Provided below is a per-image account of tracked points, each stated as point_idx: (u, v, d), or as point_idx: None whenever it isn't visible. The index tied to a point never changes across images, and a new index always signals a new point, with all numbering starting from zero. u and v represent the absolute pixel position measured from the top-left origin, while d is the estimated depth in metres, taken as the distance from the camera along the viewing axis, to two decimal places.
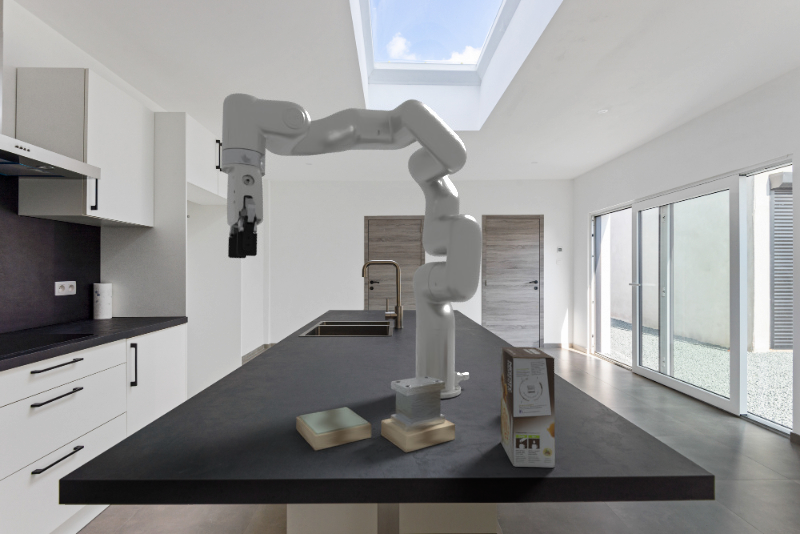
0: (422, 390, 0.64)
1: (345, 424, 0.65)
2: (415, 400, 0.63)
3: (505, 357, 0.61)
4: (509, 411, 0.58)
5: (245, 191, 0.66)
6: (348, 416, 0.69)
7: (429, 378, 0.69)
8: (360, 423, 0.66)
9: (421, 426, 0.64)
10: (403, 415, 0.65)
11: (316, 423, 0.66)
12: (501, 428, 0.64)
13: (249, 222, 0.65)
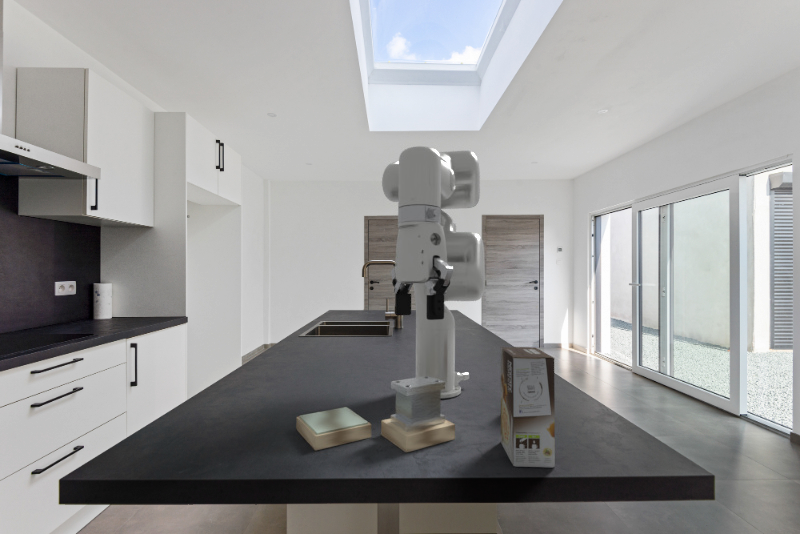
0: (422, 390, 0.64)
1: (345, 424, 0.65)
2: (415, 400, 0.63)
3: (505, 357, 0.61)
4: (509, 411, 0.58)
5: (434, 251, 0.63)
6: (348, 416, 0.69)
7: (429, 378, 0.69)
8: (360, 423, 0.66)
9: (421, 426, 0.64)
10: (403, 415, 0.65)
11: (316, 423, 0.66)
12: (501, 428, 0.64)
13: (443, 285, 0.61)
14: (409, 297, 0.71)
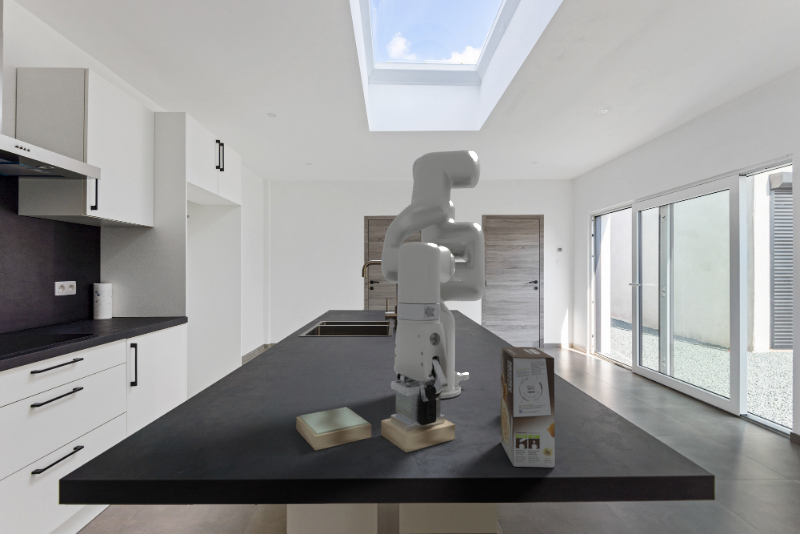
0: None
1: (345, 424, 0.65)
2: (415, 400, 0.63)
3: (505, 357, 0.61)
4: (509, 411, 0.58)
5: (433, 352, 0.62)
6: (348, 416, 0.69)
7: (429, 378, 0.69)
8: (360, 423, 0.66)
9: (421, 426, 0.64)
10: (403, 415, 0.65)
11: (316, 423, 0.66)
12: (501, 428, 0.64)
13: None
14: None
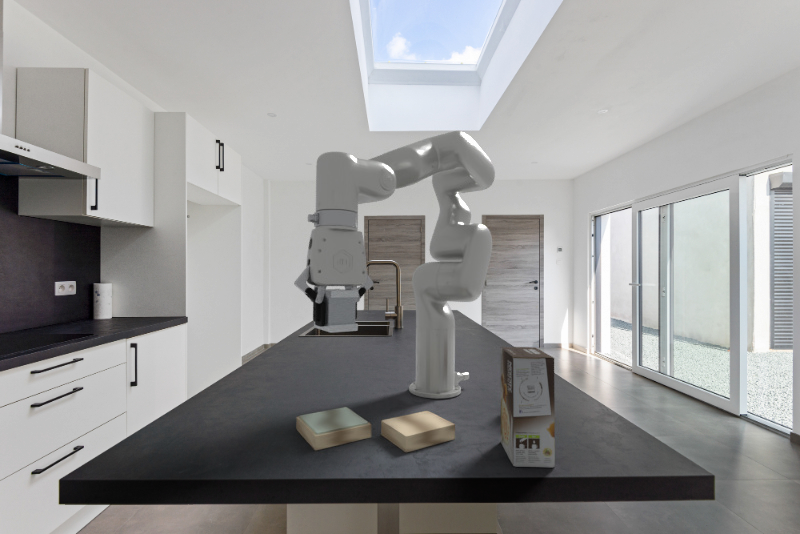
0: None
1: (345, 424, 0.65)
2: None
3: (505, 357, 0.61)
4: (509, 411, 0.58)
5: (308, 256, 0.66)
6: (348, 416, 0.69)
7: None
8: (360, 423, 0.66)
9: (319, 327, 0.68)
10: None
11: (316, 423, 0.66)
12: (501, 428, 0.64)
13: None
14: None
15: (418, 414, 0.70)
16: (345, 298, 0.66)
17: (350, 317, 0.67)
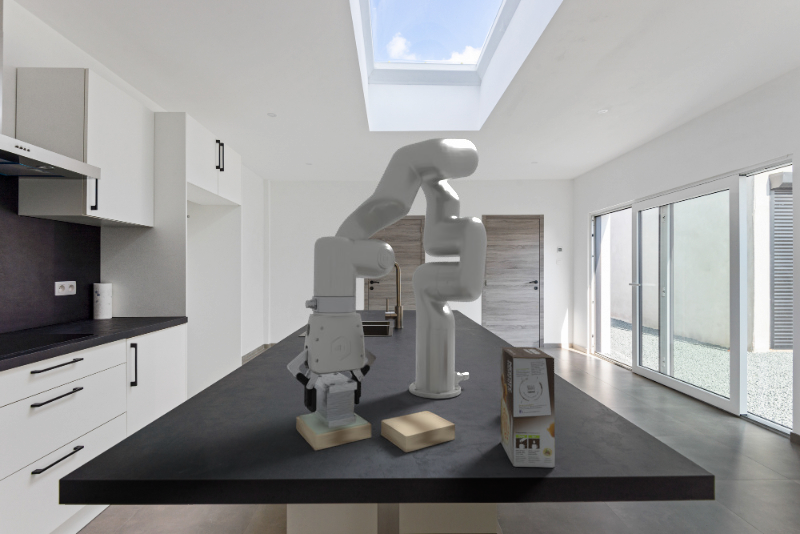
0: (319, 384, 0.67)
1: None
2: None
3: (505, 357, 0.61)
4: (509, 411, 0.58)
5: (306, 342, 0.66)
6: None
7: (344, 382, 0.66)
8: (360, 423, 0.66)
9: (318, 417, 0.67)
10: None
11: (316, 423, 0.66)
12: (501, 428, 0.64)
13: None
14: None
15: (418, 414, 0.70)
16: (344, 390, 0.66)
17: (349, 409, 0.66)
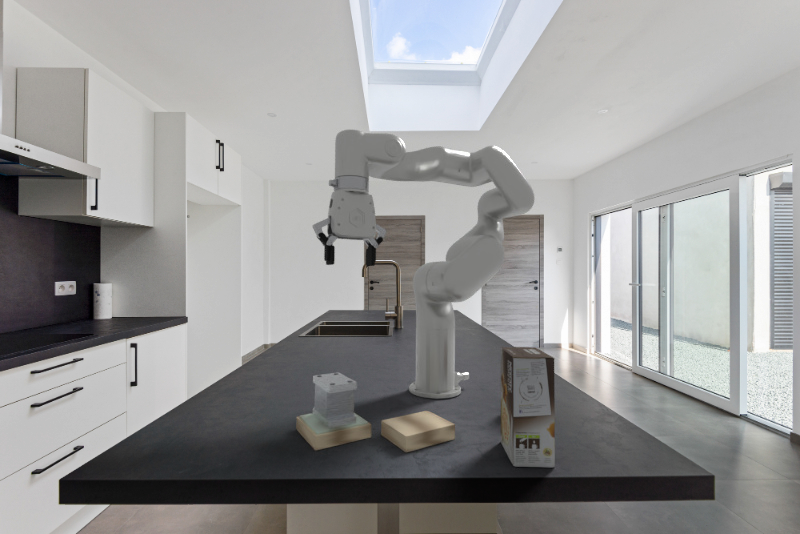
0: (319, 384, 0.67)
1: None
2: (316, 389, 0.69)
3: (505, 357, 0.61)
4: (509, 411, 0.58)
5: (329, 213, 0.82)
6: None
7: (344, 382, 0.66)
8: (360, 423, 0.66)
9: (318, 417, 0.67)
10: None
11: (316, 423, 0.66)
12: (501, 428, 0.64)
13: (320, 238, 0.81)
14: (370, 251, 0.86)
15: (418, 414, 0.70)
16: (344, 390, 0.66)
17: (349, 409, 0.66)
